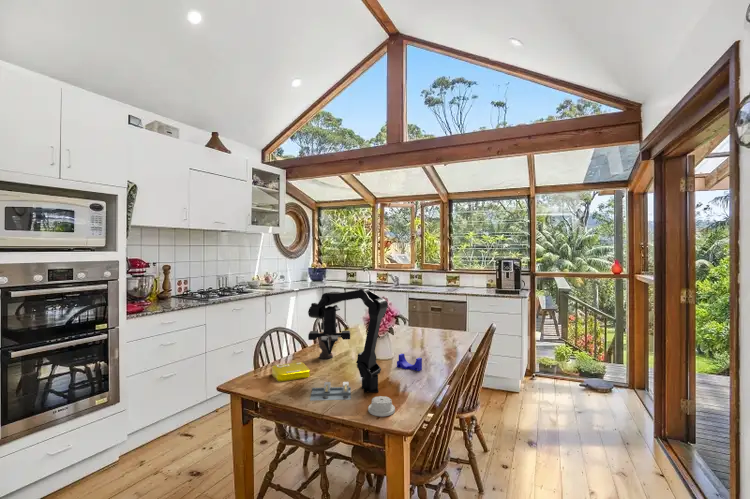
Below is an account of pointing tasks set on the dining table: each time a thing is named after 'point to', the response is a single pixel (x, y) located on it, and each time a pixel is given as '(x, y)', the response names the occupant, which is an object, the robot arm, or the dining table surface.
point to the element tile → (290, 371)
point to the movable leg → (327, 387)
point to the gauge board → (332, 393)
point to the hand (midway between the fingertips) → (329, 354)
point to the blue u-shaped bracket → (405, 365)
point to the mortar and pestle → (322, 346)
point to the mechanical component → (381, 406)
